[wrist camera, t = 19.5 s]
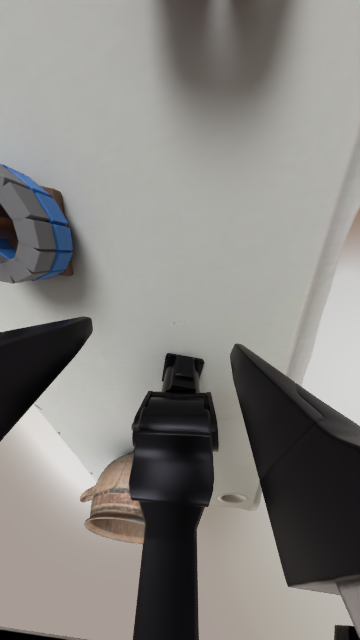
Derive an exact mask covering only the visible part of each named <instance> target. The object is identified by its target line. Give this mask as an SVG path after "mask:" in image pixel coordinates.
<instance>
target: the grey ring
mask: <svg viewBox="0 0 360 640" xmlns="http://www.w3.org/2000/svg"><path fill="white" fill-rule="evenodd" d="M28 188H29V186H28V185H26V184H25V183H24V182H23V181H21V180H20V179H19V178H18V177H16V176H15V175H14V174H13V173H11V172H10V171H9V170H7V169H6V168H5V167H4V166H2V165H0V203H1V205H2V206H3V208H4V209H5V210H6V212H7V213H8V215H9V216H10V218H11V219H12V220H13V224H14V227H15V231H16V234H17V238H18V241H19V243H18V247H17V251H16V255H15V257H14V258H12V259H10V260H9V259H7V258H5V257H4V256H2V255H0V281H3V282H9V283H18V282H23V281H29V280H34V279H36V278H38V277H40V276H42V275H44V274H46V273H48V272H47V271H49V270H50V269H51V267H52V264H53V261H54V259H55V256H56V252H54V251H53V250H52V249H57V247H56V242H55V237H54V232H53V226H52V224H51V223H47V222H46V221H48V220H49V219H50V218H49V216H48V215H47V213H46V211H45V210H44V208H43V207H42V205H41V203H40V202H39V200H38V199H37V197H36V195H35V194H34V192H33V191H32V190H29V189H28Z"/></svg>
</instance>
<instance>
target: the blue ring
mask: <svg viewBox="0 0 360 640" xmlns="http://www.w3.org/2000/svg"><path fill="white" fill-rule="evenodd" d="M0 165H2V164H0ZM2 166H4V167H5V168H6V169H7V170H9V171H10V172H11V173H13V174H14V175H15V176H16V177H18V178H19V179H20V180H21V181H23V182H24V183H25V184H26V185H28V186H29V188H28V189H29V190H32V191H33V192H34V194H35V195H36V197H37V199H38V200H39V202H40V203H41V205H42V207H43V208H44V210H45V211H46V213H47V215H48V216H49V218H50V219H49V220H48V221H46V222H47V223H51V224H52V226H53V232H54V237H55V242H56V247H57V249H52V250H53V251H54V252H56V256H55V259H54V261H53V264H52V267H51V269H50V270H49V271H47V272H48V273H46V274H44V275H42V276H40V277H38V278H36V279H34V280H41V279H46V278H51V277H53V276H55V275H57V274H59V273H62V272H64V270H65V269H66V268H67V266H68V264H69V261H70V259H71V257H72V254H73V253H71V252H70V251H69V250H73V246H72V239H71V232H70V228H69V227H65V225H67V224H68V222H67V220H66V218H65V217H64V215H63V213H62V211H61V210H60V208H59V206H58V204H57V203H56V201H55V199H53V198H50V196H51V195H50V194H49V193H48V192H46V191H45V190H44V189H43V188H42V187H40V186H39V185H38V184H37V183H35V182H34V181H33V180H32V179H31V178H29V177H28V176H25V175H24V174H22V173H20V172H18V171H15V170H13V169H11V168H9V167H7V166H5V165H2ZM0 255H2V256H4V257H5V258H7V259H9V260H10V259H12V258H14V257H15V255H16V250H14V249H13V247H12V246H11V245H10V243H9V242H8V241H7V239H3V238H0ZM34 280H33V281H34Z"/></svg>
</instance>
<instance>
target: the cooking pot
mask: <svg viewBox="0 0 360 640" xmlns="http://www.w3.org/2000/svg"><path fill="white" fill-rule="evenodd" d="M133 457H134V452H132V453H130V454H127V455H124V456H122V457H120V458H118V459H116V460H114V461H113V462H112V463H110V464H109V465H108V466H107V467H106V468H105V470H104V471H103V472H102V474H101V475H100V477H99V479H98V481H97V483H96V485H95V486H94V487H92V488H90V489H88V490H86V491H85V492H84V493H83V494H82V495H81V497H80V501H81V502H86V501H90V500H92V505H91V514H90V518H89V519H87V520H86V521H85V523H84V526H85V527H86V528H87V529H88V530H89V531H91V532H93V533H95V534H98V535H100V536H103V537H106V538H110V539H114V540H118V541H124V542H129V543H138V544H143V541H144V531H145V523H144V519H143V515H142V512H141V508H140V504H139V501H132V500H131V497H130V490H129V478H130V473H131V468H132V463H133ZM89 494H91V495H89ZM87 495H88V496H87Z"/></svg>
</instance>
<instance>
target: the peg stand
mask: <svg viewBox="0 0 360 640" xmlns="http://www.w3.org/2000/svg"><path fill="white" fill-rule="evenodd" d="M40 187H42V186H40ZM42 188H43V189H44V190H45V191H46V192H48V193H49V194H50V195H51V196H50V198H53V199H55V201H56V203H57V204H58V206H59V208H60V210H61V211H62V213H63V215H64V212H63V205H62V199H61V193H60V192H59V191H57V190H55V189H52V188H47V187H42ZM65 227H66V225H65ZM0 238H3V239H7V241H8V242H9V243H10V245H11V246H12V247H13V249H14V250H16V251H17V247H18V243H19V241H18V238H17V234H16V231H15V227H14V224H13V220H12V219H11V218H10V216H9V215H8V213H7V212H6V210H5V209H4V208H3V206H2V205H1V203H0ZM59 275H64V276H71V275H73V271H72V264H71V259H70V261H69V264H68V266H67V268H66V269H65V270H64V272H62V273H59Z"/></svg>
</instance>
